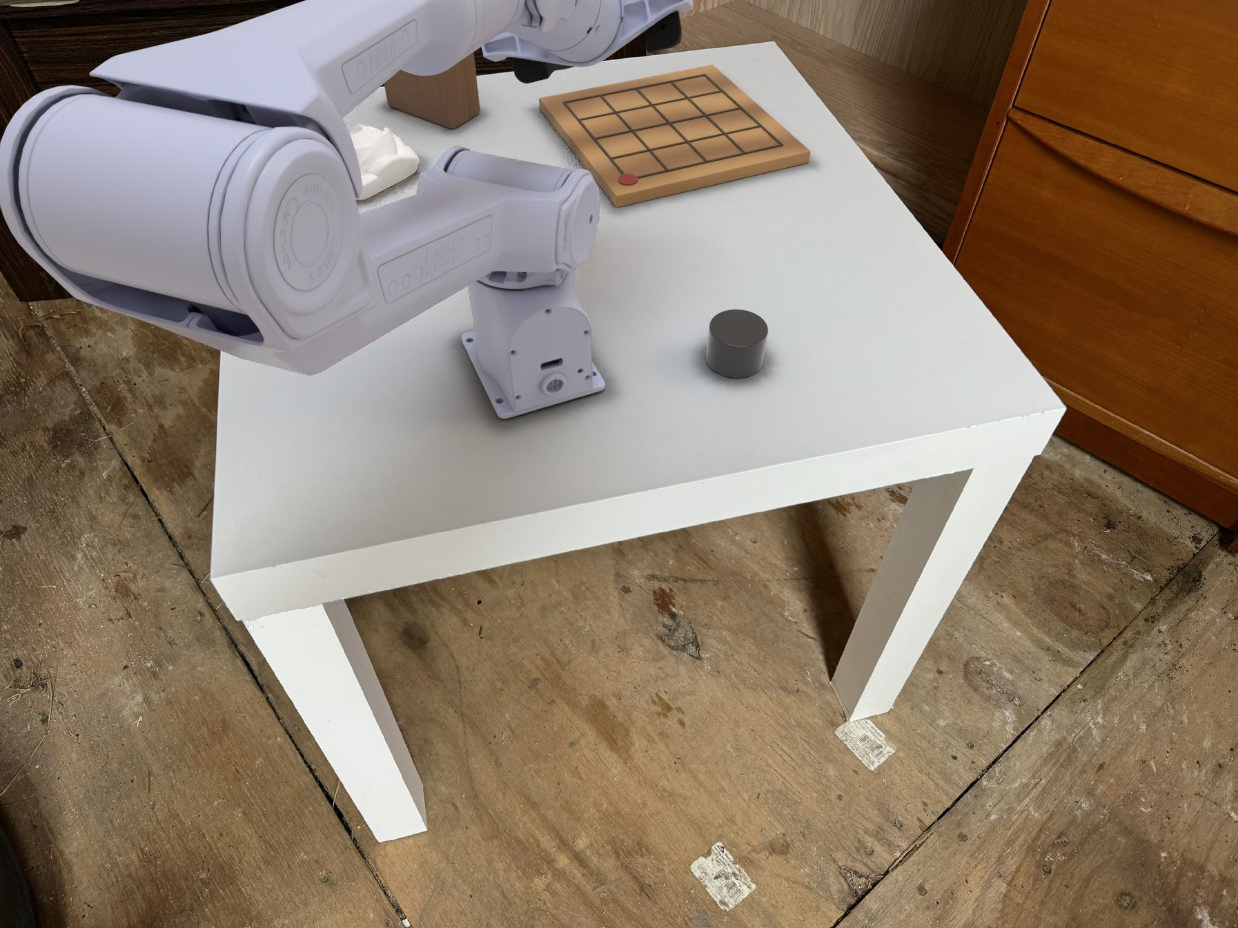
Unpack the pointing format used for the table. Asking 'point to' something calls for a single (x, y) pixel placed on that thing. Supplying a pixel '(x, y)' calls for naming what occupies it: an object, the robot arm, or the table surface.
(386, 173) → the rose
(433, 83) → the wooden block
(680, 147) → the board
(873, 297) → the table surface
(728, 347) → the dark grey cylinder puck
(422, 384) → the table surface
